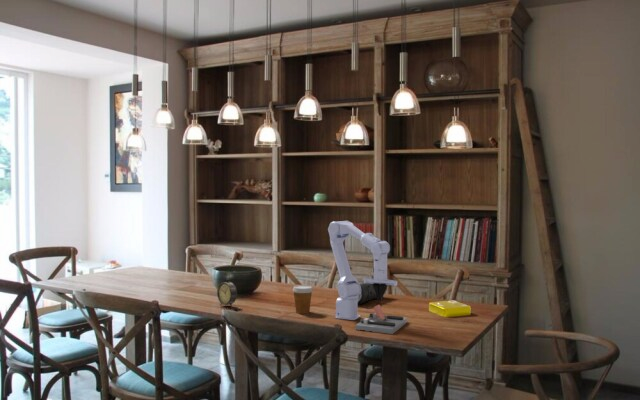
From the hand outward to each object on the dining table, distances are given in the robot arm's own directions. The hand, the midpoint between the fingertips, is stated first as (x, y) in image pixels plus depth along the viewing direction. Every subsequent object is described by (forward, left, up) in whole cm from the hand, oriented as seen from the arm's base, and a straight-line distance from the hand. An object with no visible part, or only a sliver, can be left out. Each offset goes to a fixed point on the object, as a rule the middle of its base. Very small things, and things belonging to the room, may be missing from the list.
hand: (380, 301), depth 248 cm
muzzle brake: (-22, +45, -11) cm, 51 cm away
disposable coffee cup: (-41, +8, -11) cm, 43 cm away
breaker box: (+1, -1, -10) cm, 10 cm away
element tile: (+22, +37, -11) cm, 45 cm away
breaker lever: (+1, -1, -7) cm, 7 cm away
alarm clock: (-80, +4, -11) cm, 80 cm away
